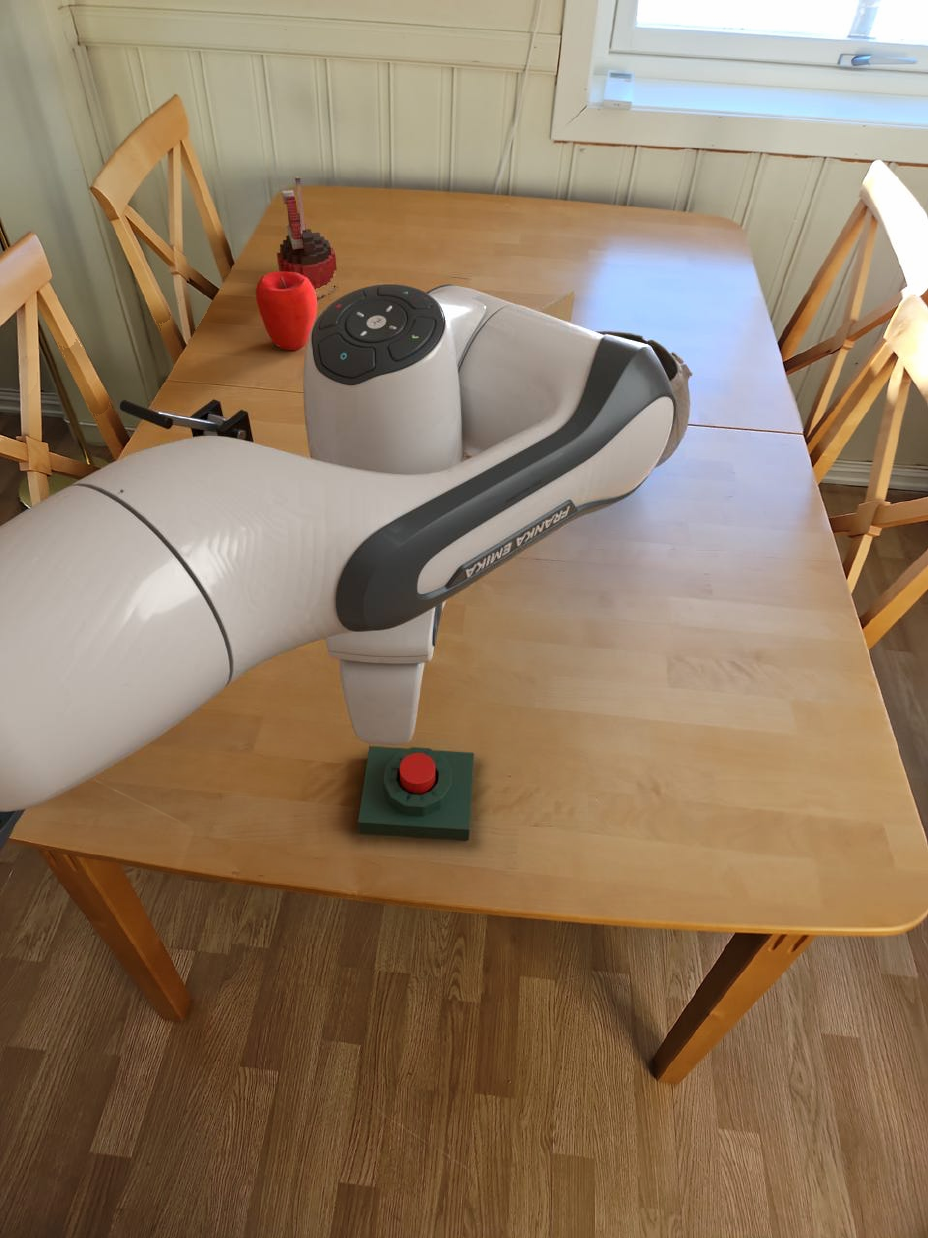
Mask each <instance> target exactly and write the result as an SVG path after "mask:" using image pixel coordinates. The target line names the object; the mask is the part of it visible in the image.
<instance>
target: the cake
mask: <svg viewBox="0 0 928 1238" xmlns="http://www.w3.org/2000/svg"><path fill="white" fill-rule="evenodd" d="M294 180H295V190H296V196H297V201H296V197H295V192H294V190H293V189H289V190H282V191H281V193H282V194H281V195H282V200H283V201H282V202H283V204H284V205H286V209H287V217H288V218H287V221H288V225H286V232H287V235H286V236H285V237H286V238H285V239H283V240H282V243H281V244H279V252H276V259H277V266H278V267H277V268H278V271H288V272H295V273H298V274H300V275H302V276H304V277H306V278H308V279H309V281H310V282H311V284H312V285H313V287H314V289H316V288H320V287H321V286H323V285H328V283H330V282H331V279H332V278H333V275H335V271H338V269H337V258H336V253H335V250H334V248H333V247H331V244H330V241H329V240H328V239H325V237H324V236H323V235H322V236H321V234H320V232H313V231H312V229H307V224H306V219H305V211H304V210H305V209H304V201H303V194H302V183H301V177H300V175H295V176H294ZM297 206H298V207H297ZM337 286H339V283H338V284H335V288H332V290H329V292H327V293H322V295H318V296H317V298H322V297H323V296H325V295H330V293H333V291H335V290H336V289H337V288H336V287H337Z"/></svg>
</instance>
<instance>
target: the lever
mask: <svg viewBox="0 0 928 1238" xmlns="http://www.w3.org/2000/svg"><path fill="white" fill-rule="evenodd" d="M119 409H120V411H121V412H124V413H126V414H128V415H132V416H133V417H135V418H138V419H140V420H143V421H145V422H148V423H150V424H153V425H156V426H158V427H161V428H163V429H165V430H170V429H171V428H172V427H173V426H177V427H182V428H188V429H191V428H193V429H199V430H204V433H203V434H204V435H207V436H217V431H216V429H217V428H218V427H219V426H221V425H222V424H223V423H225V422H226V421H227V420H228V419H229V417H226V416H223V417H222V416H218V415H213V414H208V418H207V420H202V419H197V418H192V417H190V416H187V415H181V414H176V413H171V412H165V411H160V410H156V409H150V408H147V407H145V406H142V405H140V404H138V403H135V402H132V401H130V400H128V399H123V400H122V401H120V403H119Z"/></svg>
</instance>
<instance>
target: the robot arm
mask: <svg viewBox="0 0 928 1238" xmlns="http://www.w3.org/2000/svg"><path fill="white" fill-rule="evenodd" d="M305 348H306V349H305V355H304V363H303V372H302V373H303V375H302V376H303V379H302V393H303V394H302V395H303V397H302V398H303V412H304V413H303V414H304V423H305V432H306V437H307V445H308V450H309V451H308V452H309V456H310V457H308V456H304V455H300V454H297V453H293V452H289V451H286V450H282V449H279V448H276V447H272V446H268V445H266V444H265V445H264V444H261V443H257V442H250V441H245V440H241V439H235V438H229V437H222V436H198V437H193V436H192V437H187V438H183V439H178V440H174V441H173V440H172V441H170V442H165V443H161V444H158V445H154V446H151V447H147V448H145V449H141V450H138V451H135V452H133V453H129V454H128V455H125V456H123V457H121V458H118V459H116V460H115V461H113V462H111V463H108V464H106V465H105V466H103V467H101V468H99V469H97V470H95V471H93V472H91V473H90V474H88V475H87V476H84V477H83V478H81V479H79V480H77V481H75V482H73V483H72V484H70V485H69V486H67V487H65V488H62V489H61V490H59V491H57V492H55V493H53V494H52V495H50V496H48V497H46V498H45V499H42V500H41V501H39V502H38V503H36V504H34V505H32V506H30V507H29V508H27V509H25V510H24V511H23V512H20V513H19V514H18V515H16V516H14V517H13V518H12V519H10V520H8V521H7V522H5V523H3V524H1V525H0V853H2V851H3V849H4V847H5V846H6V844H7V842H8V841H9V839H10V837H11V835H12V833H13V831H14V829H15V827H16V825H17V823H18V822H19V821H20V819H21V817H23V815H24V813H25V812H26V810H27V809H30V808H35V807H38V806H40V805H43V804H44V803H47V802H50V801H52V800H53V799H55V798H57V797H59V796H62V795H63V794H64V793H67V792H68V791H70V790H72V789H74V788H76V787H78V786H80V785H81V784H83V783H85V782H88V781H89V780H91V779H93V778H94V777H96V776H97V775H99V774H101V773H103V772H104V771H106V770H108V769H110V768H111V767H114V766H115V765H117V764H118V763H120V762H122V761H123V760H125V759H126V758H128V757H130V756H131V755H133V754H135V753H136V752H138V751H139V750H141V749H143V748H145V747H146V746H148V745H149V744H150V743H152V742H153V741H155V740H156V739H159V738H160V737H161V736H163V735H164V734H165V733H167V732H168V731H170V730H171V729H173V728H174V727H175V726H177V725H178V724H180V723H181V722H182V721H184V720H185V719H188V717H190V716H191V715H192V714H194V713H195V712H197V711H198V710H199V709H201V708H202V707H203V706H205V704H207V703H208V702H209V701H211V700H212V699H213V698H214V697H216V696H218V694H219V693H221V692H223V690H224V689H226V688H227V687H228V686H230V685H231V684H232V683H234V682H235V681H236V680H238V679H239V678H240V677H242V676H244V675H245V674H247V673H248V672H250V671H251V670H253V669H255V668H257V667H259V666H260V665H262V664H264V663H266V662H268V661H270V660H272V659H274V658H276V657H278V656H281V655H283V654H286V653H288V652H290V651H293V650H295V649H297V648H301V647H303V646H306V645H309V644H312V643H314V642H318V641H321V640H325V644H326V650H327V653H328V656H329V657H330V658H334V659H339V672H340V681H341V688H342V692H343V697H344V702H345V705H346V710H347V713H348V717H349V720H350V723H351V726H352V730H353V732H354V735H355V737H356V738H357V739H358V740H359V741H361V742H363V743H366V744H373V745H385V746H386V745H387V746H398V745H405V744H408V743H410V741H411V740H412V739H413V738H414V734H415V730H416V725H417V724H416V723H417V717H418V709H419V702H420V695H421V688H422V682H423V676H424V675H423V674H424V669H425V666H426V665H425V664H426V663H430V662H431V661H432V660H433V657H434V650H435V649H434V648H435V646H436V645H437V639H438V632H439V627H440V622H441V619H442V616H443V615H442V614H443V610H444V608H445V605H446V603H447V602H448V601H447V600H449V599H451V598H453V597H454V596H456V595H457V594H459V593H460V592H462V591H464V590H465V589H467V588H469V587H470V586H472V585H473V584H474V583H476V582H478V581H479V580H482V578H484V577H486V576H487V575H489V574H490V573H492V572H494V571H495V570H497V569H499V568H500V567H502V566H503V565H505V564H506V563H508V562H510V561H511V560H512V559H514V558H515V557H517V556H519V555H521V554H522V553H523V552H525V551H527V550H528V549H530V548H531V547H533V546H534V545H536V544H537V543H539V542H540V541H542V540H544V539H545V538H547V537H549V536H550V535H552V534H554V533H555V532H557V531H558V530H560V529H561V528H562V527H564V526H566V525H568V524H569V523H571V522H573V521H575V520H577V519H578V518H580V517H583V516H586V515H589V514H592V513H593V514H594V513H595V512H598V511H601V510H603V509H605V508H609V507H610V506H612V505H614V504H617V503H619V502H621V501H622V500H625V499H626V498H627V497H629V496H630V495H632V494H633V493H634V492H635V491H637V490H638V489H639V488H640V487H641V486H642V484H643V483H644V482H645V481H646V480H647V479H648V477H649V476H650V475H651V473H652V472H653V470H654V469H655V468H654V467H655V466H656V464H657V462H658V461H659V459H660V457H661V455H662V453H663V451H664V449H665V447H666V445H667V443H668V440H669V438H670V435H671V432H672V429H673V426H674V422H675V417H676V400H675V396H674V393H673V390H672V387H671V384H670V382H669V379H668V377H667V375H666V373H665V370H664V368H663V367H662V365H661V363H660V361H659V359H658V357H657V356H656V354H655V352H654V351H653V349H652V347H651V346H650V345H647V344H643V343H639V342H635V341H631V340H627V339H624V338H620V337H616V336H612V335H608V334H605V335H601V334H599V333H596V332H595V331H593V330H591V329H587V328H585V327H582V326H579V325H576V324H575V323H572V322H571V323H568V322H566V321H563V320H560V319H557V318H555V317H552V316H549V315H546V314H544V313H541V312H538V311H536V309H532V308H530V307H527V306H525V305H521V304H516V303H513V302H510V301H507V300H504V299H502V298H499V297H497V296H493V295H490V294H487V293H485V292H482V291H480V290H476V289H473V288H469V287H466V286H459V285H457V284H443V285H439V286H437V287H433V288H432V289H429V290H427V291H424V290H421V289H419V288H416V287H413V286H410V285H404V284H396V283H395V284H392V283H387V284H385V283H383V284H375V285H369V286H365V287H362V288H359V289H356V290H353V291H351V292H349V293H346V294H344V295H343V296H341V297H339V298H337V299H336V300H334V301H332V302H331V303H330V304H329V305H328V306H326V307H325V308H324V309H323V310H322V311H321V312H320V313H319V314H318V316H317V318H315V322H314V324H313V326H312V329H311V331H310V334H309V338H308V343H307V344H306V347H305ZM467 456H469V458H468V457H467Z"/></svg>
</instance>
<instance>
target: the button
mask: <svg viewBox="0 0 928 1238" xmlns="http://www.w3.org/2000/svg"><path fill="white" fill-rule="evenodd" d="M400 782H401V785H402V786H403V788H404V789H405V790H407V791H408V792H411V793H415V794H420V793H424V792H426V791H428V790H429V789H431V788H432V786H433V785H434V783H435V763H434V761H433V760H432V759H431V758H430V757H429V756H428V755H426V754H422V753H413V754H410V755H408V756H406V757H405V758H404V759H403V760H402V762H401V764H400Z"/></svg>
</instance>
